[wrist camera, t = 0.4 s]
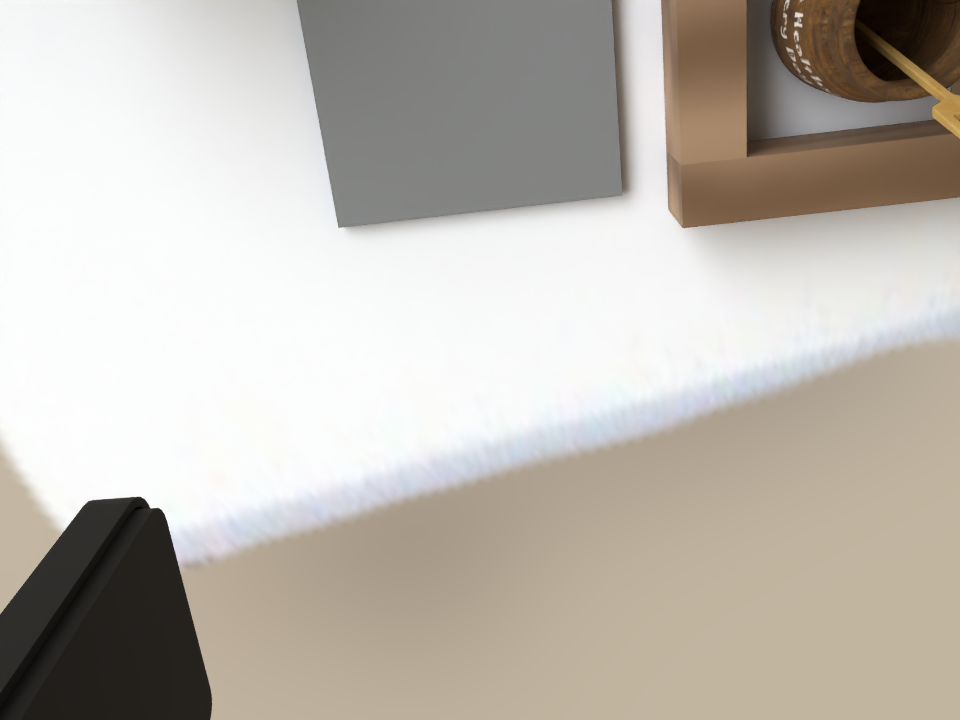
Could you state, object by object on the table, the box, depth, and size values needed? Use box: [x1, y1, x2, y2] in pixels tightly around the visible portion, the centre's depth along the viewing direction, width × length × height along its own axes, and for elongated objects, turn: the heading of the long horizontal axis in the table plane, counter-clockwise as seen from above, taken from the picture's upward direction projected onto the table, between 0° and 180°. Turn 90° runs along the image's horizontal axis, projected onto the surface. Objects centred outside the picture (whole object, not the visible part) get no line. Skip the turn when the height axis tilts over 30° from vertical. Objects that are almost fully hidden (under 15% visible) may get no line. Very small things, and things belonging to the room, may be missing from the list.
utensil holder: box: [771, 0, 960, 139], centre depth 30 cm, size 6×6×12 cm
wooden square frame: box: [661, 0, 960, 228], centre depth 34 cm, size 14×14×3 cm
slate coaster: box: [297, 0, 622, 228], centre depth 36 cm, size 12×12×1 cm
